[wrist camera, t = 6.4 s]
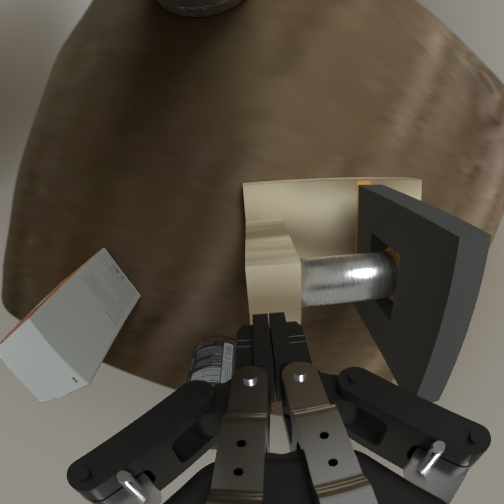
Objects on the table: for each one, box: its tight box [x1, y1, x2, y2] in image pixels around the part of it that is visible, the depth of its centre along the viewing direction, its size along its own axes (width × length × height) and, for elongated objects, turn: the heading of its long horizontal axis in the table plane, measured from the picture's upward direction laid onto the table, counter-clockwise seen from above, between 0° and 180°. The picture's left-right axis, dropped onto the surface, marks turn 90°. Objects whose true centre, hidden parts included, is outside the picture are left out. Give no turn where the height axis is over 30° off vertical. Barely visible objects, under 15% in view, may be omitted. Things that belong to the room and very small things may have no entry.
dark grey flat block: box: [353, 185, 491, 402], centre depth 17 cm, size 10×2×12 cm, turn 4°
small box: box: [0, 247, 141, 403], centre depth 22 cm, size 8×6×13 cm
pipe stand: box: [243, 177, 422, 325], centre depth 21 cm, size 10×16×11 cm, turn 94°
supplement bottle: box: [187, 337, 237, 449], centre depth 26 cm, size 6×6×11 cm
